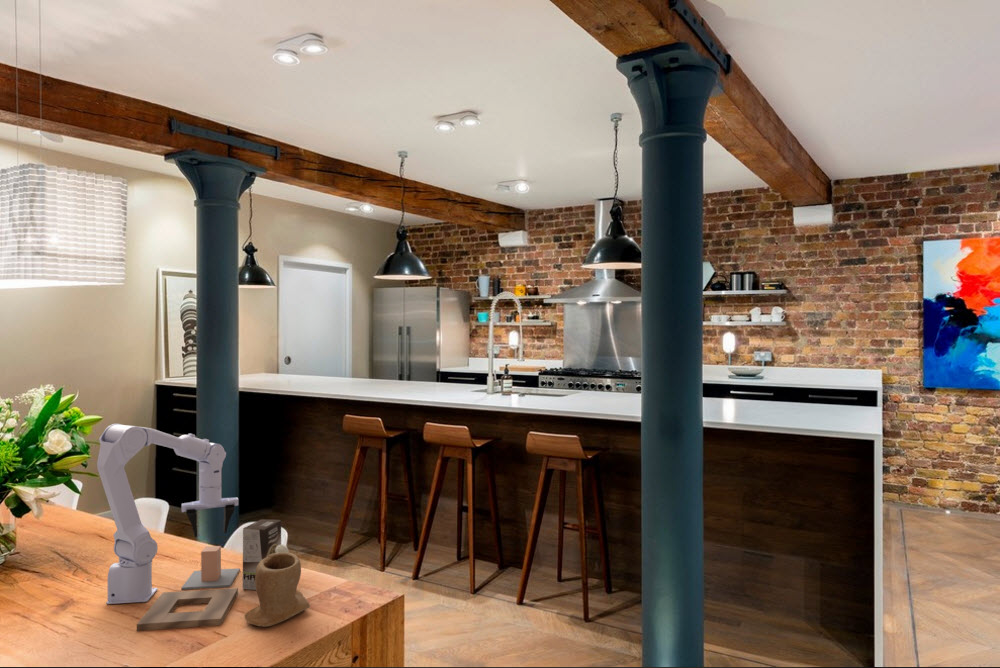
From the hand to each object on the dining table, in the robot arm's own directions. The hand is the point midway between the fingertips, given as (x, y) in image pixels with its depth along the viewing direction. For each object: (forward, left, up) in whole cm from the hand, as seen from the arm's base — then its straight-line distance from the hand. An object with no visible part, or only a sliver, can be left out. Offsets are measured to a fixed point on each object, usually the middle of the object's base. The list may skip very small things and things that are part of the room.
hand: (210, 533), depth 187 cm
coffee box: (+16, -12, -11) cm, 23 cm away
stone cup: (+24, -34, -11) cm, 43 cm away
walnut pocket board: (+2, -27, -10) cm, 29 cm away
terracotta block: (+2, -8, -10) cm, 13 cm away
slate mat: (+2, -7, -10) cm, 13 cm away
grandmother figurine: (+22, -20, -11) cm, 32 cm away
